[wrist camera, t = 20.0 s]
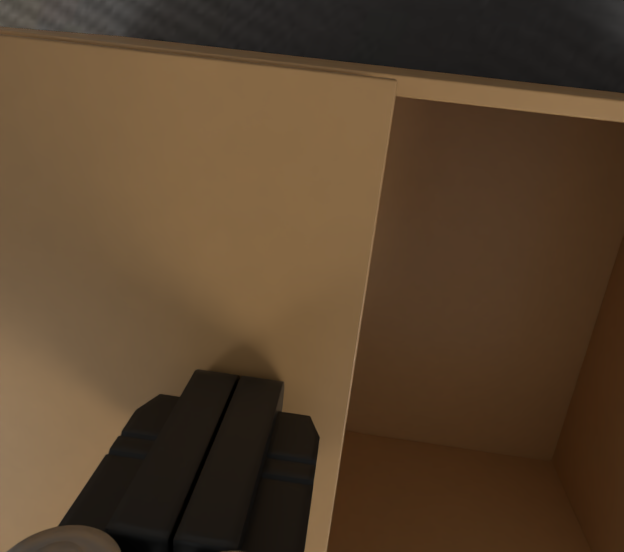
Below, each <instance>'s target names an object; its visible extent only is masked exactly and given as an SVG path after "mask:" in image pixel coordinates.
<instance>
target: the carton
mask: <svg viewBox="0 0 624 552" xmlns="http://www.w3.org/2000/svg"><path fill="white" fill-rule="evenodd" d="M0 34H5V35H14V36H22V37H31V38H40V39H49V40H58V41H66V42H75V43H84V44H93V45H101V46H110V47H119V48H128V49H137V50H145V51H154V52H163V53H172V54H181V55H189V56H198V57H207V58H216V59H225V60H233V61H242V62H251V63H260V64H268V65H277V66H286V67H295V68H304V69H312V70H321V71H330V72H339V73H348V74H356V75H365V76H374V77H383V78H392V79H396V80H397V82H398V84H397V91H396V97H395V104H394V111H393V117H392V124H391V131H390V137H389V144H388V150H387V157H386V164H385V170H384V177H383V183H382V190H381V197H380V203H379V210H378V216H377V223H376V230H375V236H374V243H373V249H372V256H371V263H370V269H369V276H368V283H367V289H366V296H365V302H364V309H363V316H362V322H361V329H360V335H359V342H358V349H357V355H356V362H355V368H354V375H353V382H352V388H351V395H350V401H349V408H348V415H347V421H346V428H345V434H344V441H343V448H342V454H341V461H340V468H339V474H338V481H337V487H336V494H335V501H334V507H333V514H332V520H331V527H330V534H329V540H328V547H327V552H624V93H618V92H609V91H600V90H592V89H583V88H574V87H565V86H556V85H547V84H538V83H530V82H521V81H512V80H503V79H494V78H485V77H476V76H468V75H459V74H450V73H441V72H432V71H423V70H415V69H406V68H397V67H388V66H379V65H370V64H361V63H353V62H344V61H335V60H326V59H317V58H308V57H300V56H291V55H282V54H273V53H264V52H255V51H246V50H238V49H229V48H220V47H211V46H202V45H193V44H184V43H176V42H167V41H158V40H149V39H140V38H131V37H123V36H111V35H99V34H86V33H73V32H61V31H48V30H35V29H23V28H10V27H0Z"/></svg>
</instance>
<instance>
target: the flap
mask: <svg viewBox="0 0 624 552" xmlns="http://www.w3.org/2000/svg"><path fill="white" fill-rule="evenodd" d="M397 84H398V82H397V80H396V79H392V78H383V77H374V76H365V75H356V74H348V73H339V72H330V71H321V70H312V69H304V68H295V67H286V66H277V65H268V64H260V63H251V62H242V61H233V60H225V59H216V58H207V57H198V56H189V55H181V54H172V53H163V52H154V51H145V50H137V49H128V48H119V47H110V46H101V45H93V44H84V43H75V42H66V41H58V40H49V39H40V38H31V37H22V36H14V35H5V34H0V552H7V551H8V550H9V549H11V548H12V547H13V546H14V545H16V544H17V543H19V542H20V541H22V540H24V539H25V538H27V537H29V536H31V535H33V534H35V533H37V532H40V531H43V530H46V529H49V528H53V527H58V525H59V524H60V522H61V521H62V519H63V518H64V516H65V515H66V513H67V512H68V510H69V509H70V507H71V506H72V504H73V503H74V501H75V500H76V498H77V497H78V495H79V494H80V492H81V491H82V489H83V488H84V486H85V485H86V483H87V482H88V480H89V479H90V477H91V476H92V474H93V473H94V471H95V470H96V468H97V467H98V465H99V464H100V462H101V461H102V459H103V458H104V456H105V455H106V454H108V453H109V449H110V448H111V446H112V445H113V443H114V442H115V440H116V439H117V437H118V436H120V435H121V431H122V430H123V428H124V427H125V425H126V424H127V422H128V421H129V419H130V418H131V416H132V415H133V413H134V412H135V410H136V409H138V408H139V407H141V406H142V405H144V404H145V403H147V402H148V401H150V400H151V399H153V398H154V397H156V396H157V395H159V394H164V395H171V396H178V397H180V396H181V394H182V392H183V390H184V389H185V387H186V385H187V383H188V382H189V380H190V378H191V376H192V375H193V373H194V371H195V370H197V369H200V370H207V371H214V372H221V373H228V374H234V375H239V376H240V377H241V376H249V377H256V378H263V379H270V380H277V381H284V397H283V407H282V412H287V413H294V414H301V415H307V416H310V417H311V419H312V421H313V423H314V426H315V428H316V430H317V432H318V434H319V437H320V440H319V448H318V455H317V463H316V470H315V478H314V485H313V493H312V500H311V508H310V515H309V522H308V530H307V537H306V544H305V551H304V552H327V547H328V540H329V534H330V527H331V520H332V514H333V507H334V501H335V494H336V487H337V481H338V474H339V468H340V461H341V454H342V448H343V441H344V434H345V428H346V421H347V415H348V408H349V401H350V395H351V388H352V382H353V375H354V368H355V362H356V355H357V349H358V342H359V335H360V329H361V322H362V316H363V309H364V302H365V296H366V289H367V283H368V276H369V269H370V263H371V256H372V249H373V243H374V236H375V230H376V223H377V216H378V210H379V203H380V197H381V190H382V183H383V177H384V170H385V164H386V157H387V150H388V144H389V137H390V131H391V124H392V117H393V111H394V104H395V97H396V91H397Z"/></svg>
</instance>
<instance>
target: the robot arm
mask: <svg viewBox="0 0 624 552" xmlns="http://www.w3.org/2000/svg"><path fill="white" fill-rule="evenodd" d="M283 397H284V381H277V380H270V379H263V378H256V377H249V376H241V377H240V376H239V375H234V374H228V373H221V372H214V371H207V370H200V369H197V370H195V371H194V373H193V375H192V376H191V378H190V380H189V382H188V383H187V385H186V387H185V389H184V390H183V392H182V394H181V396H180V397H178V396H171V395H164V394H159V395H157V396H156V397H154V398H153V399H151V400H150V401H148V402H147V403H145V404H144V405H142V406H141V407H139V408H138V409H136V410H135V412H134V413H133V415H132V416H131V418H130V419H129V421H128V422H127V424H126V425H125V427H124V428H123V430H122V431H121V435H120V436H118V437H117V439H116V440H115V442H114V443H113V445H112V446H111V448H110V449H109V453H108V454H106V455H105V456H104V458H103V459H102V461H101V462H100V464H99V465H98V467H97V468H96V470H95V471H94V473H93V474H92V476H91V477H90V479H89V480H88V482H87V483H86V485H85V486H84V488H83V489H82V491H81V492H80V494H79V495H78V497H77V498H76V500H75V501H74V503H73V504H72V506H71V507H70V509H69V510H68V512H67V513H66V515H65V516H64V518H63V519H62V521H61V522H60V524H59V525H58V527H53V528H49V529H46V530H43V531H40V532H37V533H35V534H33V535H31V536H29V537H27V538H25V539H24V540H22V541H20V542H19V543H17V544H16V545H14V546H13V547H12V548H11V549H9V550H8V551H7V552H304V551H305V544H306V537H307V530H308V522H309V515H310V508H311V500H312V493H313V485H314V478H315V470H316V463H317V455H318V448H319V440H320V437H319V434H318V432H317V430H316V428H315V426H314V423H313V421H312V419H311V417H310V416H307V415H301V414H294V413H287V412H282V407H283Z"/></svg>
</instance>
